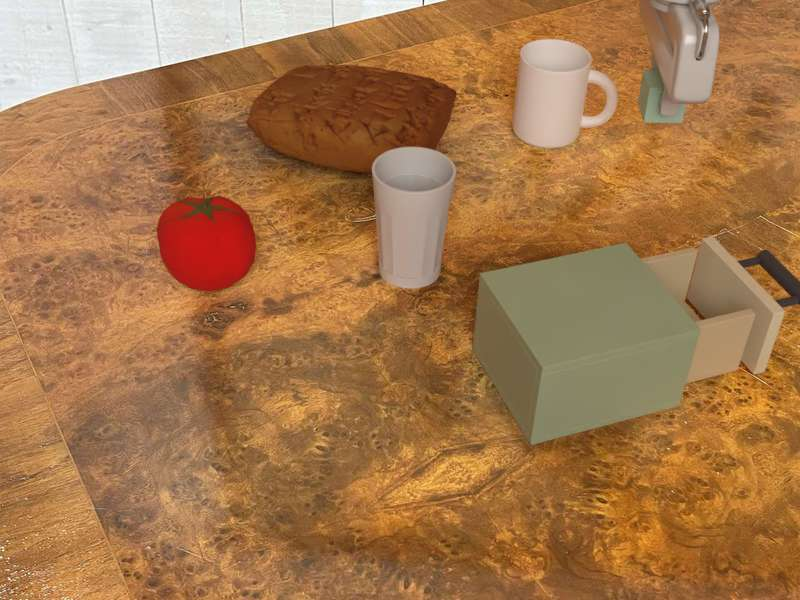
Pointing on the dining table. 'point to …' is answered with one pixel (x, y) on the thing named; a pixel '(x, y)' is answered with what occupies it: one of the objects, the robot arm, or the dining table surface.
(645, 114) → the block
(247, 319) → the dining table surface
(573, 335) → the cabinet
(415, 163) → the cup
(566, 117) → the mug
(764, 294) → the drawer
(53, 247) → the dining table surface
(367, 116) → the brown bread loaf
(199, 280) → the tomato
